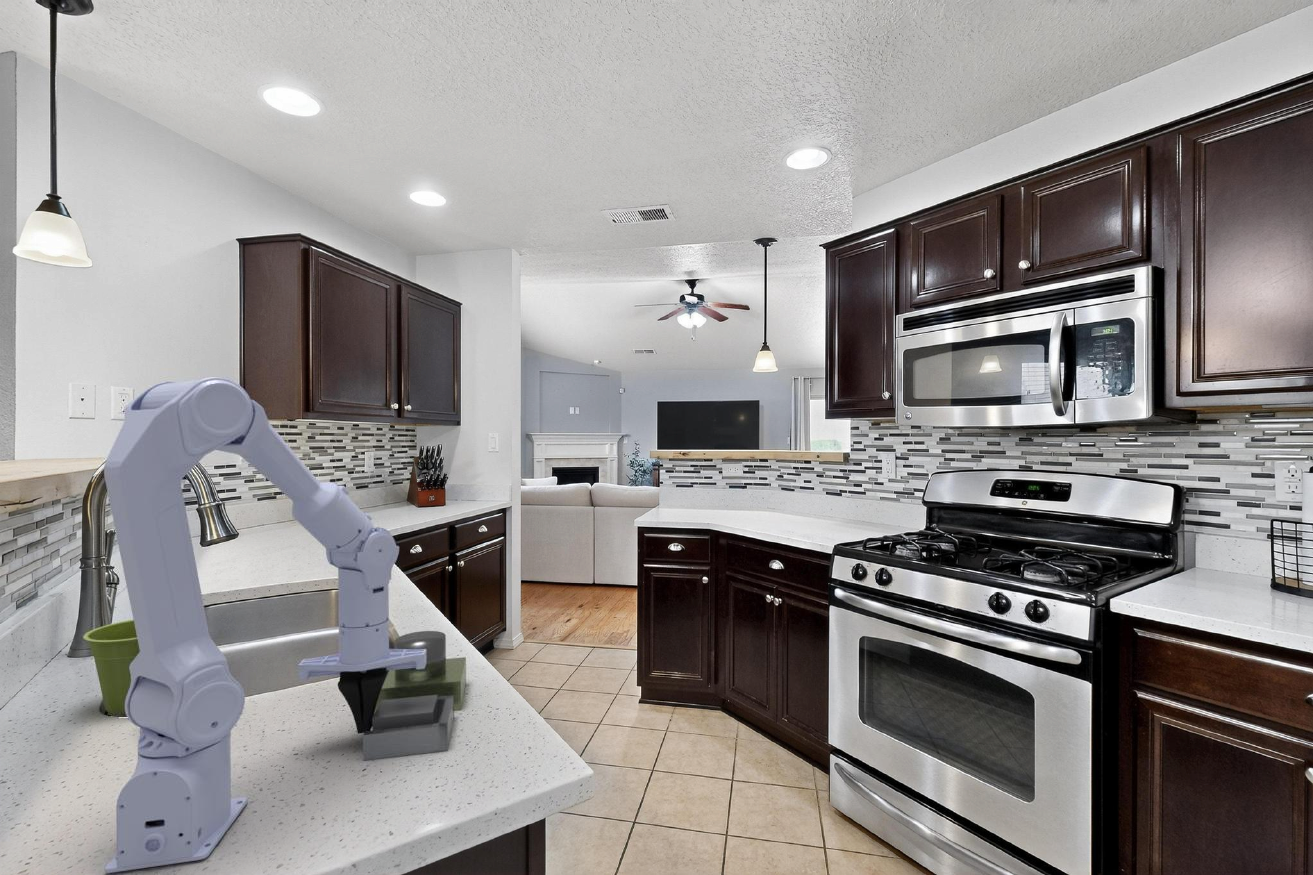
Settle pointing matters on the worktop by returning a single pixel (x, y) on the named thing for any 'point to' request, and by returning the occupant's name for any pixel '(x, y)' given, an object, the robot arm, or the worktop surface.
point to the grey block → (406, 712)
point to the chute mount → (412, 682)
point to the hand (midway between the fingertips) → (365, 729)
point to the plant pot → (114, 661)
